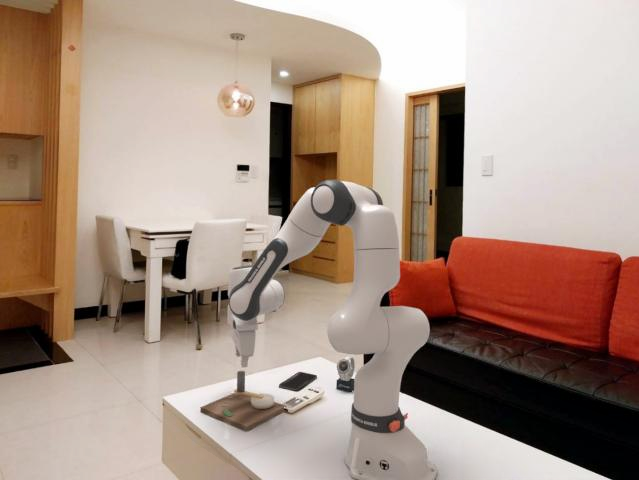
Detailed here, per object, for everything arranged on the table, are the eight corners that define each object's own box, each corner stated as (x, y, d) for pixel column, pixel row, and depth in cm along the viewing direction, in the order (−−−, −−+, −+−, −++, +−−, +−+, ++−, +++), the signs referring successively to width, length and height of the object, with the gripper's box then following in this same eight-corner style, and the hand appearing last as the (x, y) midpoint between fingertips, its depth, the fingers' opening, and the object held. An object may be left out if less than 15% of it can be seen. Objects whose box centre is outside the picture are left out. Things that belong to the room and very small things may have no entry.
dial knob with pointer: (278, 402, 150) (279, 375, 150) (266, 410, 144) (266, 383, 143) (241, 393, 156) (242, 367, 155) (228, 401, 150) (229, 374, 149)
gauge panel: (286, 410, 149) (286, 405, 149) (246, 431, 135) (246, 425, 135) (241, 394, 160) (241, 389, 160) (200, 412, 146) (200, 406, 146)
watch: (333, 391, 165) (334, 359, 164) (344, 383, 172) (345, 352, 171) (348, 394, 162) (349, 362, 161) (358, 386, 169) (360, 355, 168)
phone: (277, 385, 166) (299, 371, 180) (277, 388, 166) (299, 374, 180) (298, 390, 163) (318, 375, 176) (298, 393, 163) (318, 378, 176)
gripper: (226, 309, 159) (226, 350, 160) (237, 327, 140) (236, 374, 141) (246, 308, 161) (245, 349, 162) (259, 326, 142) (258, 372, 143)
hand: (241, 361), depth 152 cm, fingers open, 8 cm apart
